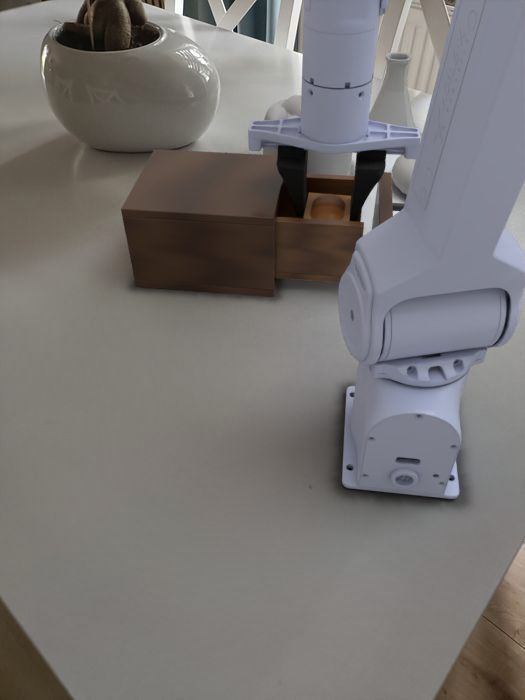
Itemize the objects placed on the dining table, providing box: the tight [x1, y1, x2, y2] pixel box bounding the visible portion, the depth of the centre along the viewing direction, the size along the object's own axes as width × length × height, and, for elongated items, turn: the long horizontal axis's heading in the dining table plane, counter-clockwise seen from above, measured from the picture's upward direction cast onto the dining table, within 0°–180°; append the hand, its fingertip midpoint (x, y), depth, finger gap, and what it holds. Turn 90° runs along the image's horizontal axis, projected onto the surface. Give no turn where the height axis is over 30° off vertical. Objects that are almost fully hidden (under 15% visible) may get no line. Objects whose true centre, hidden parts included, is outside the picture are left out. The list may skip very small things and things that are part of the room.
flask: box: [369, 51, 416, 128], centre depth 81 cm, size 7×7×10 cm
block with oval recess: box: [303, 193, 351, 221], centre depth 58 cm, size 6×4×4 cm
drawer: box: [275, 171, 405, 284], centre depth 60 cm, size 17×10×7 cm, turn 82°
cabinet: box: [120, 148, 284, 297], centre depth 61 cm, size 14×12×9 cm
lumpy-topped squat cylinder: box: [262, 94, 353, 176], centre depth 72 cm, size 10×13×9 cm
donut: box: [391, 155, 416, 196], centre depth 72 cm, size 10×4×10 cm
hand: (327, 222), depth 59 cm, fingers closed on block with oval recess, 4 cm apart
